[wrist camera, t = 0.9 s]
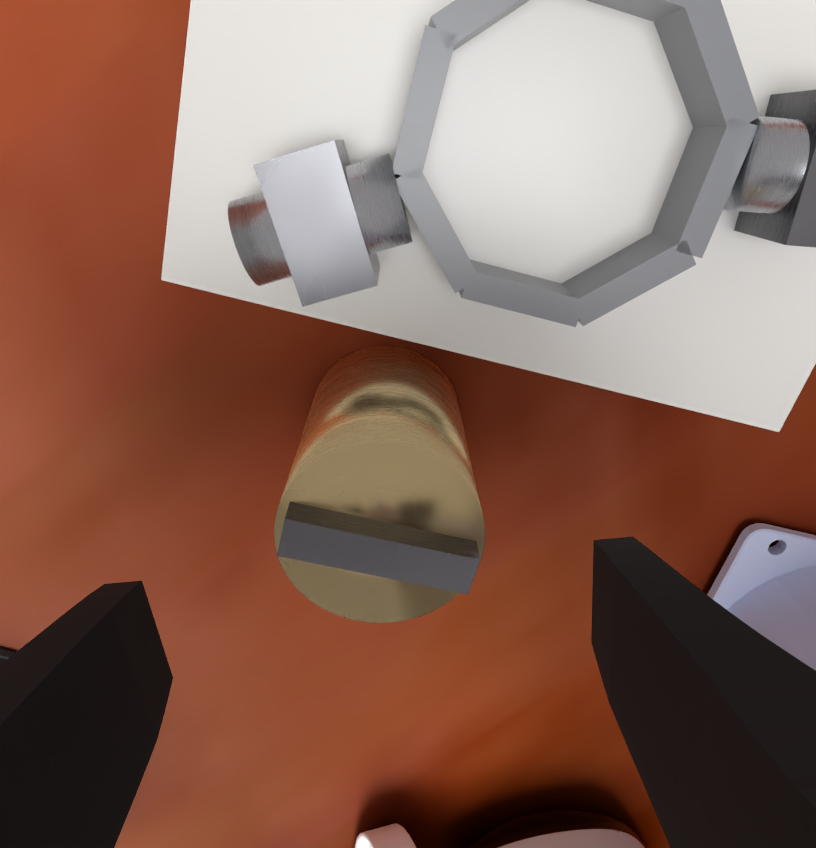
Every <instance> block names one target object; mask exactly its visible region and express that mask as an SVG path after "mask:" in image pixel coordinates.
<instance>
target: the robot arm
mask: <svg viewBox="0 0 816 848" xmlns="http://www.w3.org/2000/svg"><path fill="white" fill-rule="evenodd" d="M776 540H779V541H778V543H777V544H776V545H774V546H772V547H769V545H770V544H771V543H772V542H774V541H776ZM592 645H593V649H594V652H595V656H596V659H597V663H598V667H599V670H600V674H601V677H602V680H603V684H604V687H605V690H606V694H607V697H608V700H609V703H610V706H611V708H612V710H613V713H614V715H615V718H616V720H617V722H618V725H619V727H620V730H621V732H622V734H623V737H624V739H625V741H626V744H627V746H628V749H629V751H630V753H631V756H632V758H633V760H634V763H635V765H636V767H637V770H638V772H639V774H640V777H641V779H642V781H643V784H644V786H645V788H646V791H647V793H648V795H649V798H650V800H651V802H652V805H653V807H654V809H655V812H656V814H657V816H658V819H659V821H660V823H661V826H662V828H663V830H664V833H665V835H666V837H667V840H668V842H669V844H670V847H671V848H816V535H812V534H808V533H804V532H799V531H795V530H790V529H786V528H782V527H777V526H773V525H769V524H764V523H756V524H752V525H750V526H748V527H746V528H745V529H744V530H743V531H742V532H741V534H740V535H739V537H738V539H737V541H736V543H735V545H734V546H733V548H732V550H731V552H730V554H729V556H728V557H727V559H726V561H725V563H724V565H723V567H722V568H721V570H720V572H719V574H718V576H717V578H716V580H715V581H714V583H713V585H712V587H711V589H710V591H709V592H708V594H707V595H706V594H705V593H704V592H703V591H701V590H700V589H699V588H697V587H696V586H695V585H693V584H692V583H691V582H690V581H688V580H687V579H686V578H685V577H683V576H682V575H681V574H680V573H678V572H677V571H676V570H674V569H673V568H672V567H671V566H669V565H668V564H667V563H666V562H664V561H663V560H662V559H661V558H659V557H658V556H657V555H656V554H654V553H653V552H652V551H651V550H649V549H648V548H647V547H646V546H644V545H643V544H642V543H641V542H639V541H638V540H637V539H635V538H634V537H625V538H614V539H602V540H594V555H593V599H592ZM172 679H173V676H172V673H171V670H170V667H169V664H168V661H167V658H166V655H165V652H164V648H163V645H162V642H161V639H160V636H159V633H158V630H157V627H156V624H155V620H154V617H153V614H152V611H151V608H150V605H149V602H148V599H147V596H146V592H145V589H144V586H143V583H142V581H134V582H123V583H112V584H104V585H102V586H101V587H100V588H98V589H97V590H95V591H94V592H92V593H91V594H90V595H88V596H87V597H86V598H84V599H83V600H82V601H80V602H79V603H78V604H76V605H75V606H74V607H73V608H71V609H70V610H69V611H67V612H66V613H65V614H64V615H62V616H61V617H60V618H59V619H57V620H56V621H55V622H54V623H52V624H51V625H50V626H49V627H47V628H46V629H45V630H44V631H42V632H41V633H40V634H39V635H37V636H36V637H35V638H34V639H32V640H31V641H30V642H29V643H27V644H26V645H25V646H24V647H22V648H21V649H20V650H19V651H17V652H16V653H15V654H13V655H12V656H11V657H10V658H8V659H7V660H6V661H5V662H3V663H2V664H1V665H0V848H114V847H115V844H116V842H117V839H118V837H119V834H120V832H121V829H122V827H123V824H124V822H125V819H126V817H127V815H128V812H129V810H130V807H131V805H132V802H133V800H134V797H135V795H136V792H137V790H138V787H139V785H140V782H141V780H142V777H143V775H144V772H145V770H146V767H147V764H148V762H149V759H150V757H151V754H152V752H153V749H154V746H155V744H156V741H157V738H158V734H159V731H160V727H161V723H162V720H163V716H164V712H165V708H166V704H167V700H168V696H169V692H170V688H171V684H172Z"/></svg>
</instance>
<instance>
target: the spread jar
mask: <svg viewBox="0 0 816 848" xmlns="http://www.w3.org/2000/svg"><path fill="white" fill-rule="evenodd" d="M355 848H416V846H415V844H414V842H413V840H412V839H411V837H410V835H409V834H408V833H407V831H406V830H405V829H404V827H402V826H401V825H399V824H397V823H396V824H391V825H387V826H384V827H380V828H376V829H373V830H369V831H366V832H362V833H360V834H359V835H358V837H357V839H356V844H355ZM469 848H646V847H645V845H644V844H643V842H642V841H641V839H640V838H639V837H638V836H637V834H636V833H635V832H634V831H633V830H632V829H631V828H630V827H629V826H627V825H626V824H624V823H623V822H621V821H619V820H617V819H614V818H612V817H609V816H605V815H601V814H596V813H590V812H584V811H576V810H551V811H543V812H537V813H533V814H529V815H525V816H522V817H519V818H516V819H514V820H511V821H509V822H507V823H505V824H503V825H501V826H499V827H498V828H496V829H495V830H493V831H491V832H490V833H488V834H487V835H485V836H484V837H482V838H481V839H479V840H478V841H476V842H475V843H474V844H473V845H471V846H470V847H469Z"/></svg>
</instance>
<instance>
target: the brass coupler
mask: <svg viewBox="0 0 816 848" xmlns="http://www.w3.org/2000/svg"><path fill="white" fill-rule="evenodd" d="M274 542H275V547H276V553H277V556H278V558H279V561H280V564H281V566H282V568H283V570H284V572H285V573H286V575H287V576H288V578H289V579H290V581H291V582H292V583H293V585H294V586H295V587H296V588H297V589H298V590H299V591H300V592H301V593H302V594H303V595H304V596H306V597H307V598H308V599H309V600H310V601H312V602H313V603H315V604H317V605H318V606H320V607H321V608H323V609H325V610H327V611H329V612H331V613H334V614H336V615H339V616H342V617H345V618H349V619H353V620H357V621H364V622H374V623H387V622H398V621H404V620H409V619H412V618H416V617H419V616H422V615H424V614H427V613H429V612H432V611H434V610H435V609H437V608H439V607H441V606H443V605H444V604H446V603H447V602H448V601H450V600H451V599H453V598H454V597H455V596H456V595H457V594H458V593H462V594H467V595H468V593H469V590H470V587H471V584H472V582H473V579H474V576H475V573H476V571H477V568H478V565H479V563H480V561H481V557H482V554H483V550H484V543H485V525H484V519H483V514H482V509H481V505H480V500H479V496H478V491H477V487H476V482H475V478H474V473H473V469H472V464H471V460H470V455H469V451H468V446H467V442H466V437H465V433H464V428H463V424H462V419H461V415H460V410H459V406H458V401H457V397H456V394H455V391H454V388H453V386H452V384H451V382H450V380H449V379H448V378H447V376H446V375H445V373H444V372H443V371H442V370H441V369H440V368H439V367H438V366H437V365H436V364H435V363H434V362H432V361H431V360H430V359H428V358H427V357H425V356H424V355H422V354H420V353H418V352H415V351H413V350H410V349H407V348H404V347H398V346H388V345H381V346H372V347H367V348H363V349H360V350H357V351H354V352H352V353H350V354H348V355H346V356H345V357H343V358H342V359H340V360H339V361H338V362H336V363H335V364H334V365H333V366H332V367H331V368H330V369H329V370H328V371H327V373H326V374H325V375H324V377H323V378H322V380H321V381H320V383H319V386H318V388H317V390H316V393H315V396H314V399H313V402H312V405H311V408H310V411H309V414H308V417H307V421H306V424H305V427H304V430H303V433H302V436H301V439H300V442H299V445H298V448H297V451H296V454H295V457H294V460H293V464H292V467H291V470H290V473H289V476H288V479H287V482H286V485H285V488H284V491H283V494H282V497H281V500H280V503H279V507H278V510H277V513H276V517H275V524H274Z"/></svg>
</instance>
